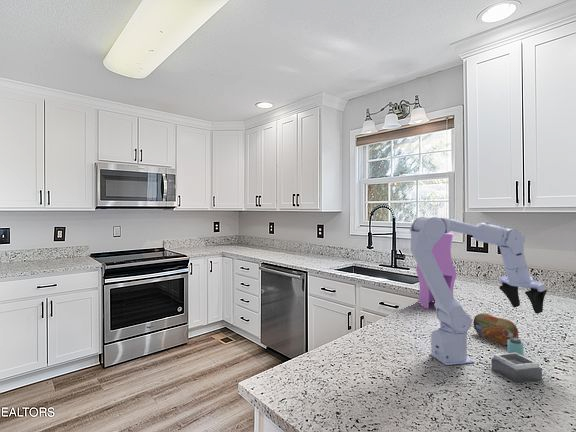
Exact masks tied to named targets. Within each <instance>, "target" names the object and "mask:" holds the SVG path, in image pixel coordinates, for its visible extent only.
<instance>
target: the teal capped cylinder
mask: <svg viewBox="0 0 576 432" xmlns="http://www.w3.org/2000/svg"><path fill="white" fill-rule="evenodd" d="M506 346H507V348H506V349H507V350H506V353H514V352H516V353H518V354H520V355H522V356H524V357H525V354H524V352H525V351H524V348H525V346H524V342H523V341H522V340H521V339H520V338H519V337H518V338H510V339H509V340H507V345H506Z"/></svg>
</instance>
